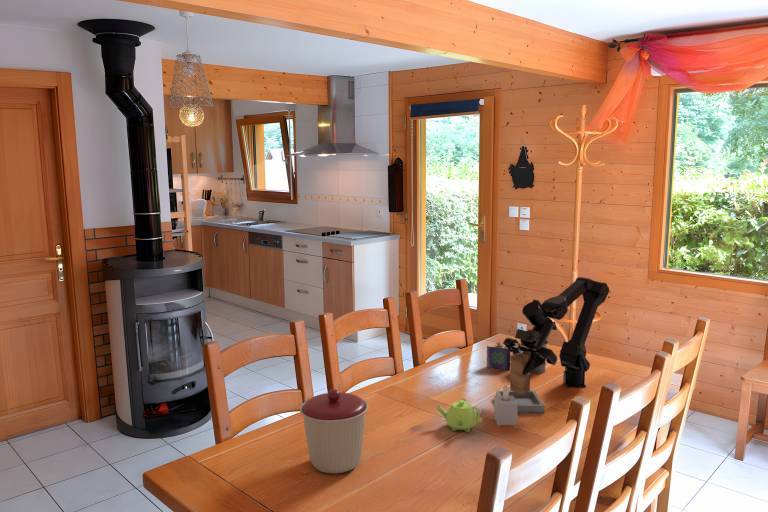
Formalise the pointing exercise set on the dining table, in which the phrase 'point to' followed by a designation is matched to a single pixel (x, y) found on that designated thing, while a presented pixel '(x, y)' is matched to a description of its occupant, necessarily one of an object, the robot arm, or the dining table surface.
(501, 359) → the flask
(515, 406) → the grey soap dispenser
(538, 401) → the tray
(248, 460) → the dining table surface
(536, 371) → the pillar candle
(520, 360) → the walnut block
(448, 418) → the teapot
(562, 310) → the robot arm
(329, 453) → the canister
